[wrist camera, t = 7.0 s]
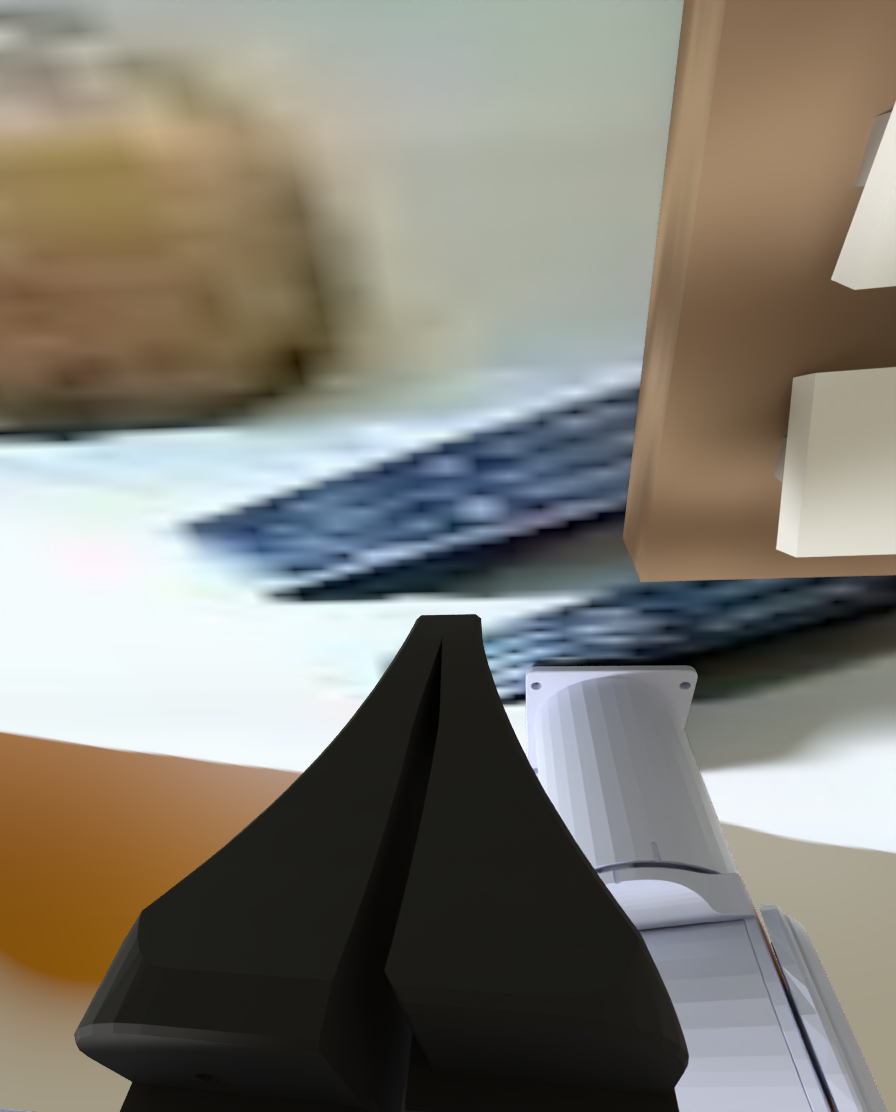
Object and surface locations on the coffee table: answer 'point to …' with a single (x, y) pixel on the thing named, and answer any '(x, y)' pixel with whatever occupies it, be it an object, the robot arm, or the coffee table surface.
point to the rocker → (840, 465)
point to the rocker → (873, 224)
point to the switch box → (755, 276)
